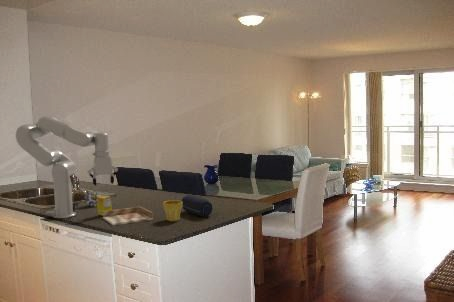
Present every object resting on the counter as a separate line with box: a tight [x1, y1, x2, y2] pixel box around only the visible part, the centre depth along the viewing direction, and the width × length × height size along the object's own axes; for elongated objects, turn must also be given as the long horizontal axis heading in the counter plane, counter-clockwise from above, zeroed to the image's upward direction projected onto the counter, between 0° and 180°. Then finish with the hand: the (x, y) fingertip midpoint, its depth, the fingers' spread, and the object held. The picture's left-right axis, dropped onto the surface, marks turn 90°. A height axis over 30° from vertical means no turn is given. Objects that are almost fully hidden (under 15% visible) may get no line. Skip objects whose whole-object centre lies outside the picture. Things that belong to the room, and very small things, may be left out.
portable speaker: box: [180, 194, 213, 218], centre depth 254 cm, size 25×10×10 cm, turn 32°
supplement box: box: [96, 195, 113, 218], centre depth 257 cm, size 6×6×11 cm
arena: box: [102, 205, 154, 226], centre depth 246 cm, size 22×20×4 cm
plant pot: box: [162, 199, 183, 222], centre depth 241 cm, size 10×10×10 cm
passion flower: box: [82, 190, 102, 208], centre depth 286 cm, size 11×11×12 cm
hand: (103, 184), depth 256 cm, fingers open, 9 cm apart
